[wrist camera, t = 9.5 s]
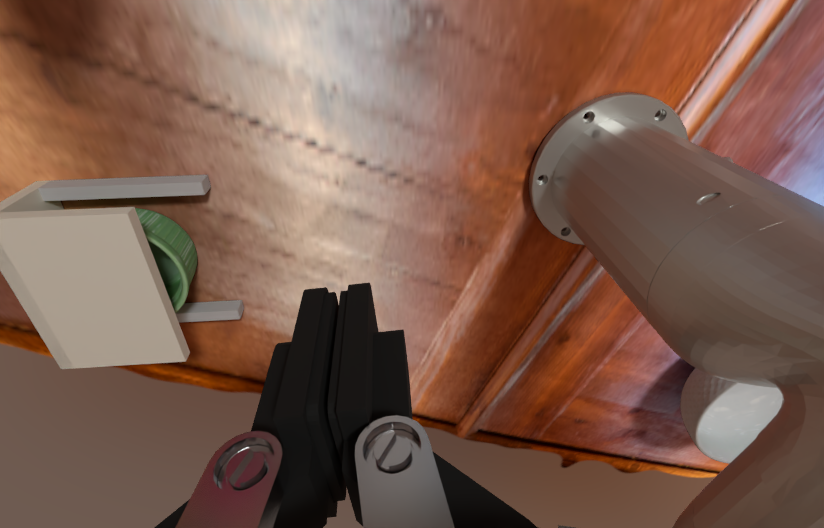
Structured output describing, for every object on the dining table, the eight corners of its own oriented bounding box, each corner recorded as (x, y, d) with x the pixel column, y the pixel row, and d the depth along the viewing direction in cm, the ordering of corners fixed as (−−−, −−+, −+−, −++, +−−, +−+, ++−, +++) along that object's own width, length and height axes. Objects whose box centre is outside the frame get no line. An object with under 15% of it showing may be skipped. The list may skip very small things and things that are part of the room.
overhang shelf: (207, 174, 34) (175, 211, 28) (244, 308, 40) (224, 359, 35) (36, 181, 33) (-31, 220, 27) (103, 316, 40) (60, 369, 34)
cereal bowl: (822, 286, 45) (891, 332, 39) (801, 389, 54) (854, 439, 48) (655, 337, 47) (697, 388, 41) (661, 428, 56) (696, 481, 50)
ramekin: (198, 303, 40) (181, 335, 36) (88, 278, 38) (58, 310, 34) (212, 219, 36) (193, 246, 32) (88, 185, 33) (53, 210, 30)
